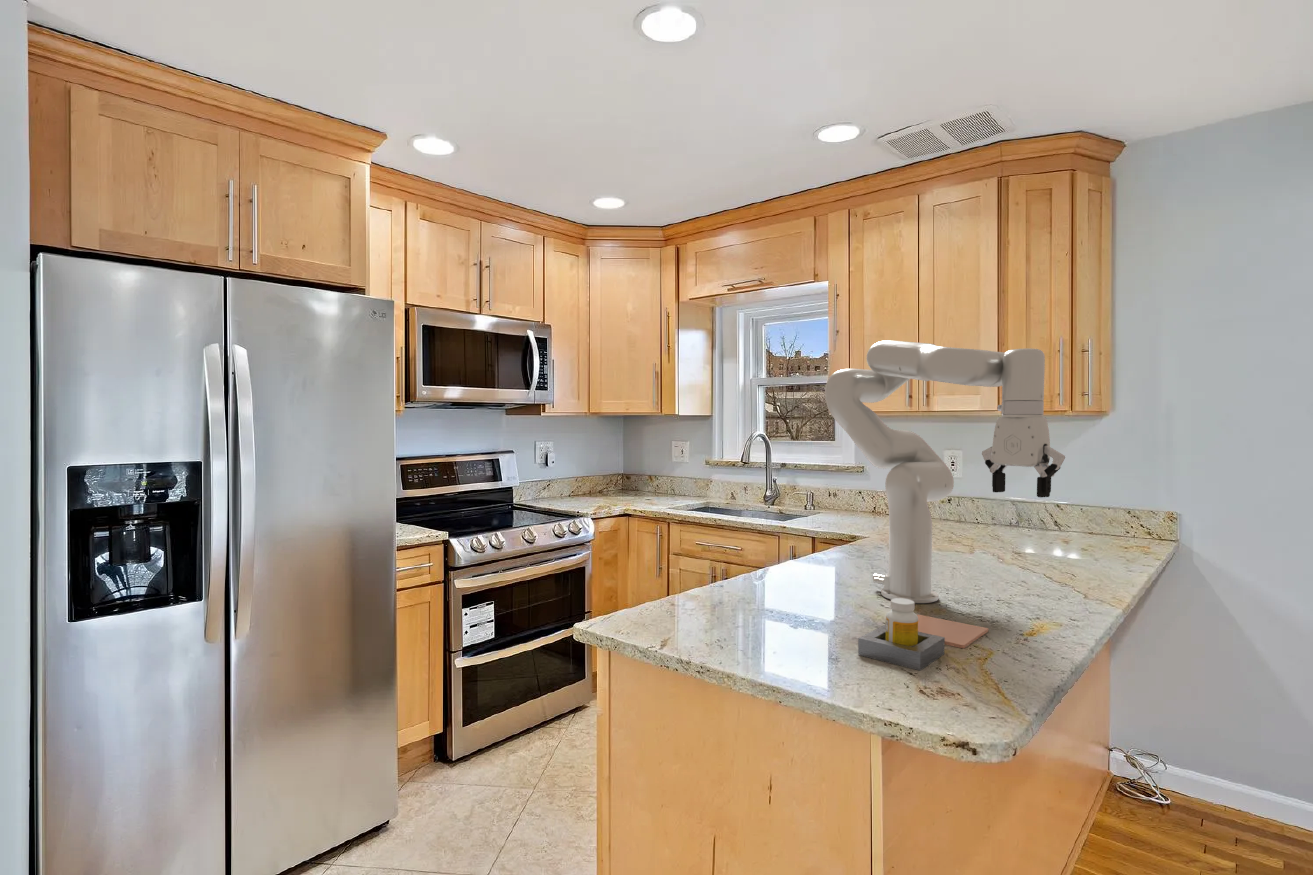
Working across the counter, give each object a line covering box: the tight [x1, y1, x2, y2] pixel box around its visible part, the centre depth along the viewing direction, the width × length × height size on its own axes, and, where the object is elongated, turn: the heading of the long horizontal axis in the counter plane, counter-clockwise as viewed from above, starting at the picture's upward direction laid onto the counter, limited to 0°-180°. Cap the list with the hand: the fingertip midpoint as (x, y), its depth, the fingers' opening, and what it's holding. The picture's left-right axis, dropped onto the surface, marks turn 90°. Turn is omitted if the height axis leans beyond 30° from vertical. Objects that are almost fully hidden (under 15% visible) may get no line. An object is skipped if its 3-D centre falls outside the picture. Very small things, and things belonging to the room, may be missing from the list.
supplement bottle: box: [885, 598, 918, 647], centre depth 122 cm, size 5×5×10 cm
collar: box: [857, 624, 946, 671], centre depth 122 cm, size 11×11×3 cm
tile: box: [916, 614, 989, 649], centre depth 135 cm, size 14×14×1 cm
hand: (1020, 494), depth 140 cm, fingers open, 9 cm apart
